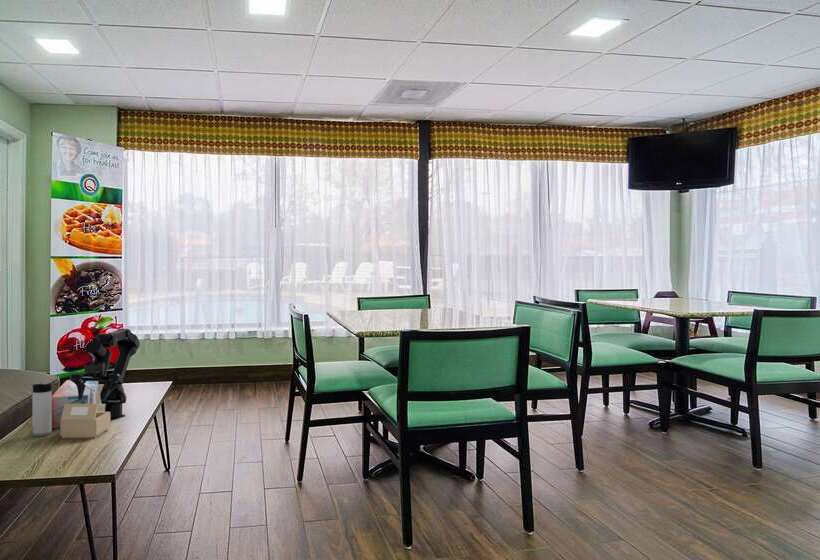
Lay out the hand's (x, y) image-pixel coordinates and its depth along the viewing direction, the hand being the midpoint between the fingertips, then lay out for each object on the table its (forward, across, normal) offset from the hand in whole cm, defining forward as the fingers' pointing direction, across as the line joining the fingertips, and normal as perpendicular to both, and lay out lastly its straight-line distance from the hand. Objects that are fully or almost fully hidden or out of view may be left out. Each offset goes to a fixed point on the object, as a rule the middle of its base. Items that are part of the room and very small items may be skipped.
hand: (91, 399), depth 235 cm
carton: (+13, 0, +2) cm, 13 cm away
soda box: (-1, -17, +27) cm, 32 cm away
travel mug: (+14, -16, +2) cm, 21 cm away
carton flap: (+7, 0, -7) cm, 10 cm away
